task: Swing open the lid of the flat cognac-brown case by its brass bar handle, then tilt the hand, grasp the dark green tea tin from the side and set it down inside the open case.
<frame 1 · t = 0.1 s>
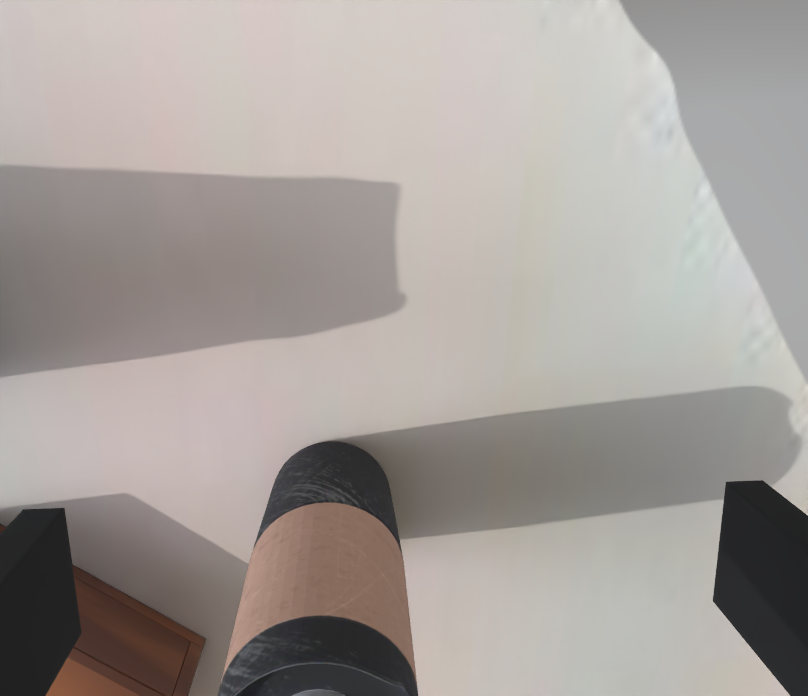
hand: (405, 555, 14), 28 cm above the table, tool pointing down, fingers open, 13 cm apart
case: (22, 680, 46), on the table
travel mug: (331, 493, 45), on the table
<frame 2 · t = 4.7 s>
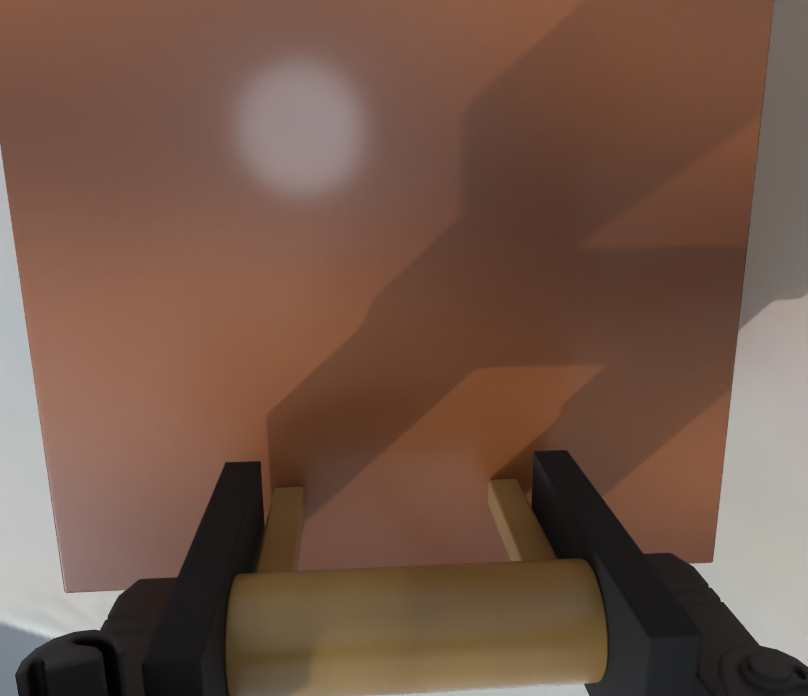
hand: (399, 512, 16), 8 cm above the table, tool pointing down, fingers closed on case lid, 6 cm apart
case lid: (401, 191, 13), point 9 cm above the table, hinge at 0.0°, touching gripper
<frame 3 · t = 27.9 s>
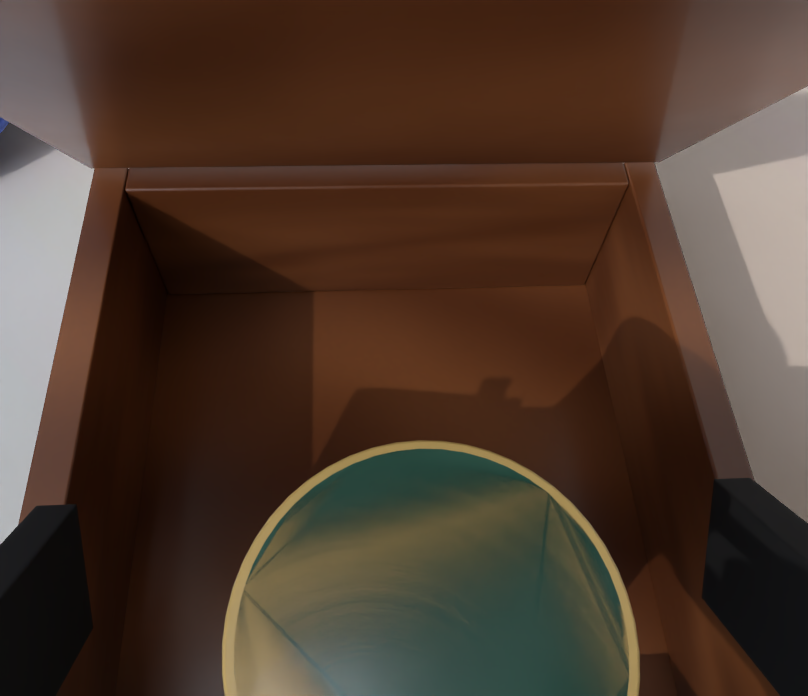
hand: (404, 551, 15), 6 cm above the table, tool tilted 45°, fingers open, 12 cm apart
case: (391, 535, 21), on the table
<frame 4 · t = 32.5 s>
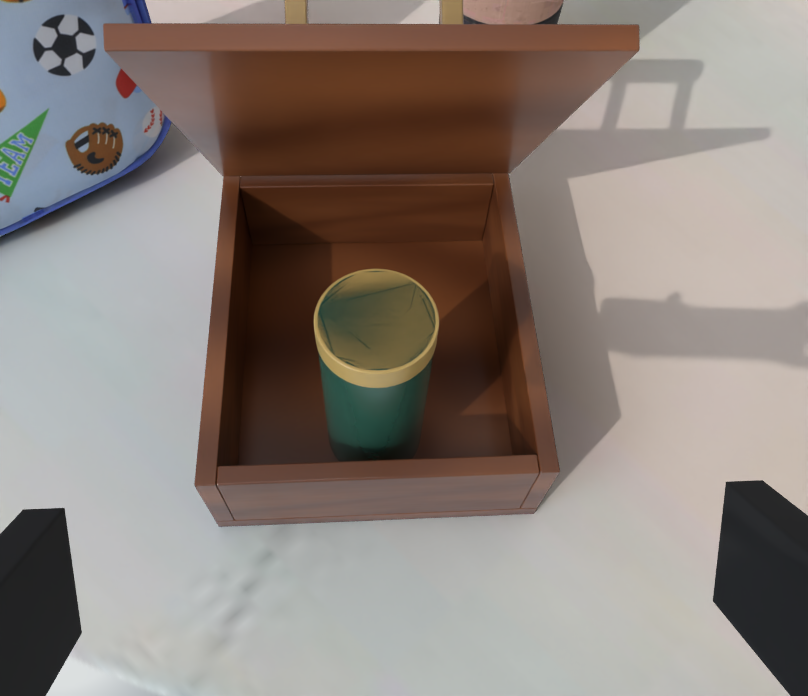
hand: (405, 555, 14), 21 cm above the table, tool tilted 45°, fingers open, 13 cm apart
case lid: (369, 49, 30), point 16 cm above the table, hinge at 57.1°
case: (372, 365, 41), on the table
travel mug: (483, 102, 52), on the table
tea tin: (374, 433, 38), point 1 cm above the table, touching case
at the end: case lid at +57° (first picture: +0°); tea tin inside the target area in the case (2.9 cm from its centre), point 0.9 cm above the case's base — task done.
